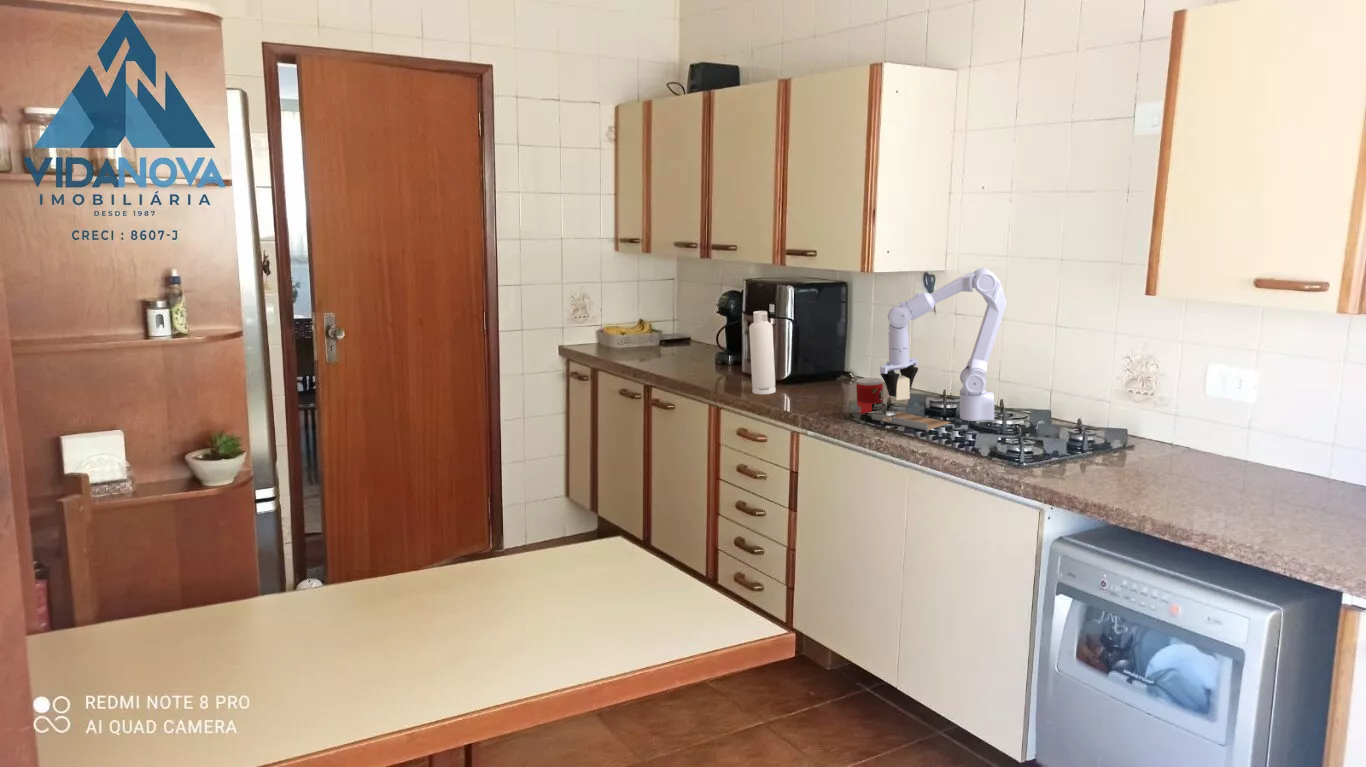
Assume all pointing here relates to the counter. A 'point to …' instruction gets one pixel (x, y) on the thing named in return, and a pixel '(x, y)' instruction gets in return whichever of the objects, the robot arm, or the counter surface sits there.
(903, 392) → the carton
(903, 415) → the shelf
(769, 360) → the bottle
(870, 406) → the canned food
